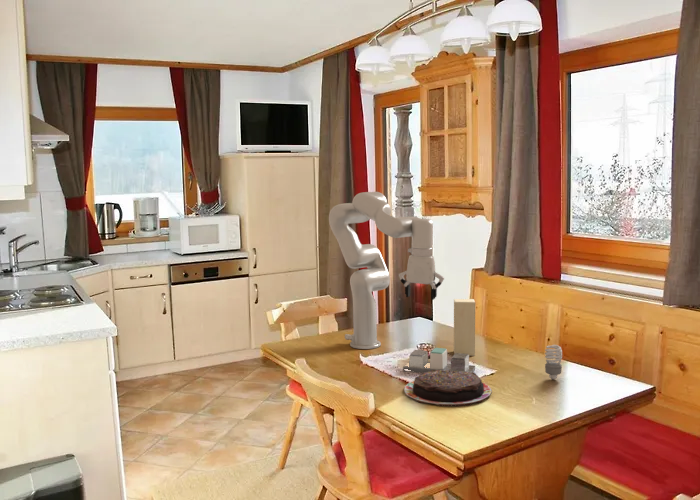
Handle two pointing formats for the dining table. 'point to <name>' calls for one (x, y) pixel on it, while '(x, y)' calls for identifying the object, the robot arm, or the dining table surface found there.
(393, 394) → the dining table surface
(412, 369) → the rail
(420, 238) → the robot arm
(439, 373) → the chocolate cake
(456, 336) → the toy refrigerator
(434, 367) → the block
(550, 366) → the light bulb
